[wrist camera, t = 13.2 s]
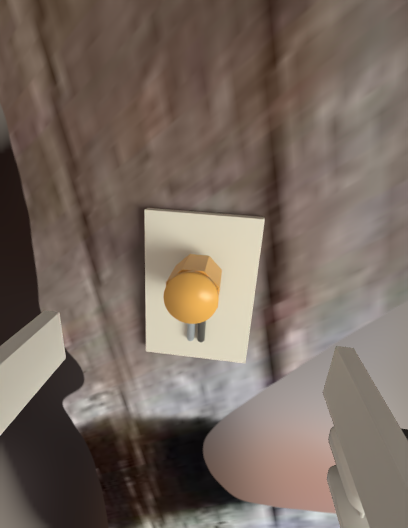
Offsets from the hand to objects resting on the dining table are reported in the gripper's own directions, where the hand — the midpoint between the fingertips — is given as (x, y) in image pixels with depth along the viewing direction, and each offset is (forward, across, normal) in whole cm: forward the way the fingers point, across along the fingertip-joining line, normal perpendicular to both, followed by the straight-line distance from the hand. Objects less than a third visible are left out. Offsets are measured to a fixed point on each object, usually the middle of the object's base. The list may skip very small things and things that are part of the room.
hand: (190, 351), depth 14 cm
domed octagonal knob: (+19, -2, -5) cm, 20 cm away
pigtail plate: (+23, -2, -8) cm, 24 cm away
